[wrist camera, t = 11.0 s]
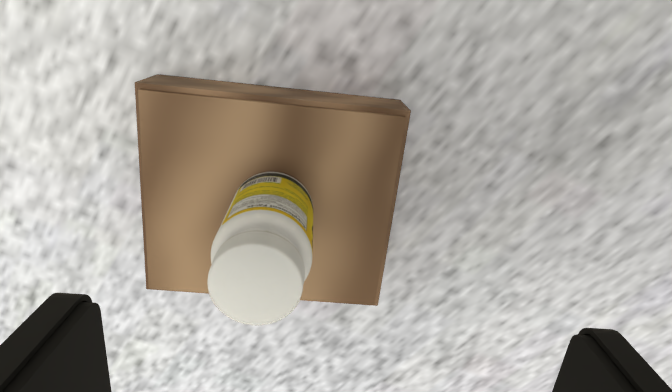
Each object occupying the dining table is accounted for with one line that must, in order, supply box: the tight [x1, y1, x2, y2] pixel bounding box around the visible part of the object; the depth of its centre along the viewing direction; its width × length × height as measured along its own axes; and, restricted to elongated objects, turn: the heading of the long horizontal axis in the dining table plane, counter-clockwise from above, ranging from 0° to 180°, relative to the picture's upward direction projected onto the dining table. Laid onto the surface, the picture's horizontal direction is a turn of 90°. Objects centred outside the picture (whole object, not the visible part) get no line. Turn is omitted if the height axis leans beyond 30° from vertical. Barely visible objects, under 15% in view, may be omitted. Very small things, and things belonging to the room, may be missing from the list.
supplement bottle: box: [207, 172, 313, 325], centre depth 22 cm, size 5×5×8 cm
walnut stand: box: [135, 75, 411, 306], centre depth 28 cm, size 15×13×4 cm
